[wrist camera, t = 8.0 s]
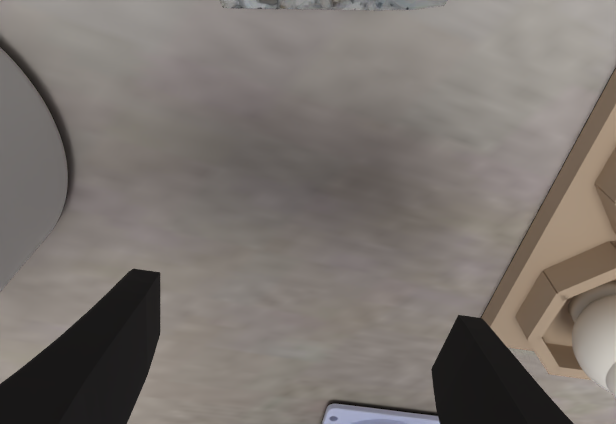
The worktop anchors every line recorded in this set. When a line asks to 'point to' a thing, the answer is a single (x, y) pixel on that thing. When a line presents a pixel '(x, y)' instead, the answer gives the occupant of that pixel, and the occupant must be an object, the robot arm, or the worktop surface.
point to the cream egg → (596, 334)
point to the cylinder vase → (26, 170)
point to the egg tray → (564, 249)
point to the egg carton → (334, 4)
